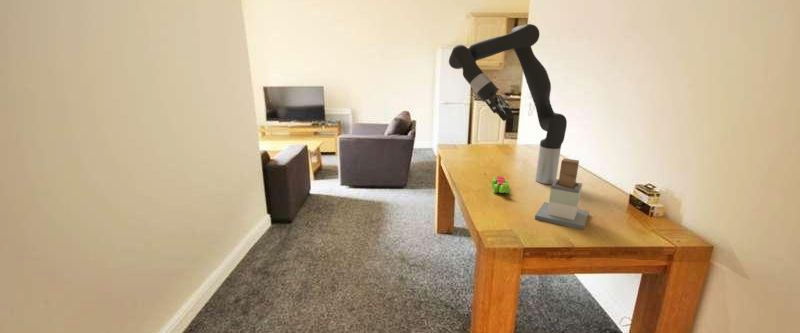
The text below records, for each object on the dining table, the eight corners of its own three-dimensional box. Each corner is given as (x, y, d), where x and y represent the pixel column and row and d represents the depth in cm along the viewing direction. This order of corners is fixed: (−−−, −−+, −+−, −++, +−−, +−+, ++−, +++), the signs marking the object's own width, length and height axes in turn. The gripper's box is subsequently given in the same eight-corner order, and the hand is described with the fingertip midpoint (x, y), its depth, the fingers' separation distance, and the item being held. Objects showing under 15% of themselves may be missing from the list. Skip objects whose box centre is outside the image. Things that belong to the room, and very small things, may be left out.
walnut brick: (560, 184, 133) (564, 158, 130) (574, 187, 130) (579, 160, 128) (557, 187, 129) (561, 161, 126) (572, 190, 126) (577, 163, 124)
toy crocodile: (490, 182, 171) (491, 170, 169) (505, 183, 170) (506, 171, 168) (494, 197, 152) (495, 183, 151) (510, 198, 151) (512, 184, 150)
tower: (543, 205, 143) (548, 175, 140) (588, 214, 135) (593, 182, 132) (534, 219, 130) (539, 186, 127) (583, 230, 122) (589, 195, 119)
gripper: (484, 81, 136) (511, 114, 133) (496, 80, 148) (521, 110, 145) (470, 94, 140) (496, 126, 137) (483, 92, 152) (507, 122, 149)
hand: (509, 118), depth 141 cm, fingers open, 8 cm apart
